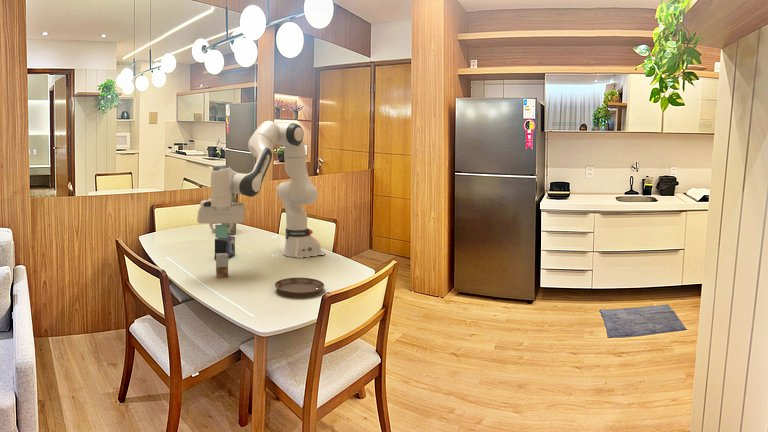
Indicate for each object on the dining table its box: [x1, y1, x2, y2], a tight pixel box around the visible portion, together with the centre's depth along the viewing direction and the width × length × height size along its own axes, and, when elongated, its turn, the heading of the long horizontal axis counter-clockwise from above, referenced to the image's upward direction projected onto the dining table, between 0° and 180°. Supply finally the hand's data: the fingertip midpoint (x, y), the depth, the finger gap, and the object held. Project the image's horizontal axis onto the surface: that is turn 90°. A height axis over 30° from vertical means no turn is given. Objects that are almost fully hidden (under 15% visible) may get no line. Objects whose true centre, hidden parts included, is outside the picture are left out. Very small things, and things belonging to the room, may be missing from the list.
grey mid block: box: [215, 253, 229, 268], centre depth 233 cm, size 5×5×5 cm
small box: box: [214, 235, 236, 260], centre depth 266 cm, size 11×6×10 cm, turn 169°
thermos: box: [220, 193, 239, 236], centre depth 319 cm, size 9×12×35 cm
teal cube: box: [214, 224, 227, 239], centre depth 231 cm, size 5×5×5 cm
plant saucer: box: [274, 277, 325, 298], centre depth 218 cm, size 21×21×3 cm
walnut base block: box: [215, 266, 229, 279], centre depth 234 cm, size 5×5×5 cm
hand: (221, 232), depth 231 cm, fingers closed on teal cube, 5 cm apart
